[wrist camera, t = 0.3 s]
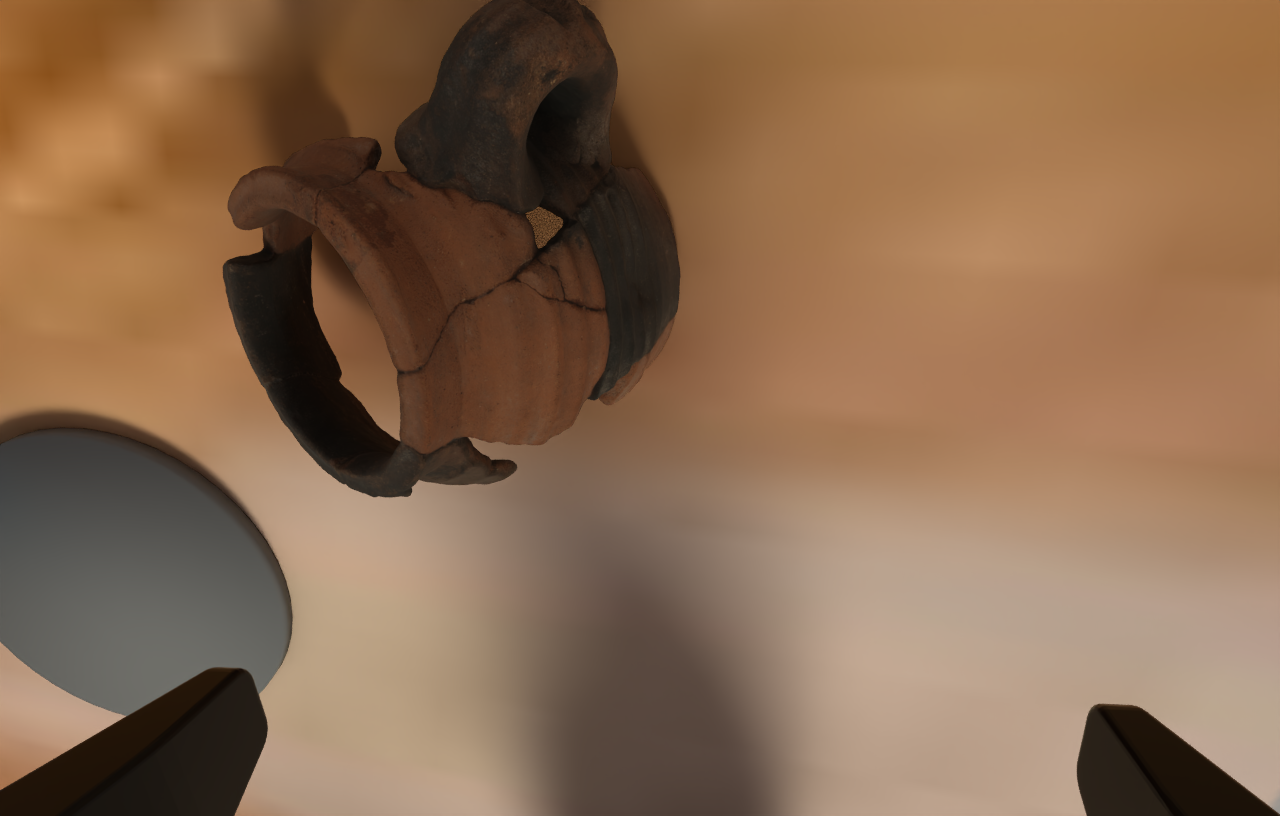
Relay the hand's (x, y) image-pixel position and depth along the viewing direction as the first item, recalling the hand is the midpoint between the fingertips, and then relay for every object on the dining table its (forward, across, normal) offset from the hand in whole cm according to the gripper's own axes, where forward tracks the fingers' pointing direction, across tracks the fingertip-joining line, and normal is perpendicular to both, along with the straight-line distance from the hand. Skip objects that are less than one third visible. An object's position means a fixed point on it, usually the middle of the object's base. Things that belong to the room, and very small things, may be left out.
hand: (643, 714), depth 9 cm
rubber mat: (+14, +20, +9) cm, 27 cm away
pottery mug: (+14, +5, -2) cm, 15 cm away
